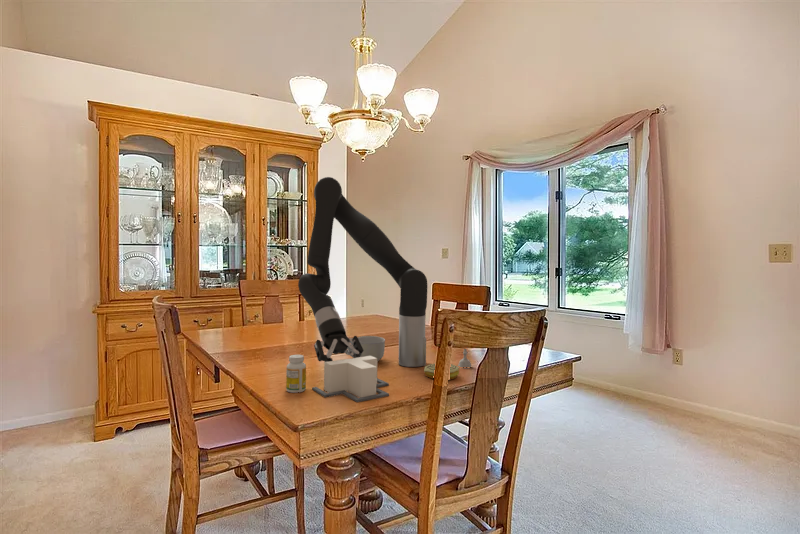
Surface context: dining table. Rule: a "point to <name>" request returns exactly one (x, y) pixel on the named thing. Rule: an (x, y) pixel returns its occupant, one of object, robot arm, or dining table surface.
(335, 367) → the t block
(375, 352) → the teacup
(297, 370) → the supplement bottle
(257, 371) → the dining table surface
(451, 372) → the decorated donut
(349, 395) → the t outline
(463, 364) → the grey tall turned piece
